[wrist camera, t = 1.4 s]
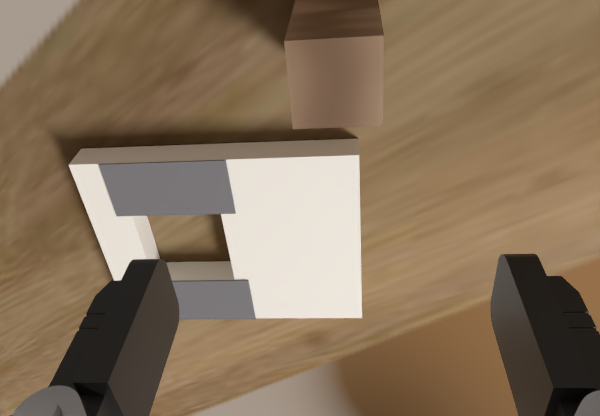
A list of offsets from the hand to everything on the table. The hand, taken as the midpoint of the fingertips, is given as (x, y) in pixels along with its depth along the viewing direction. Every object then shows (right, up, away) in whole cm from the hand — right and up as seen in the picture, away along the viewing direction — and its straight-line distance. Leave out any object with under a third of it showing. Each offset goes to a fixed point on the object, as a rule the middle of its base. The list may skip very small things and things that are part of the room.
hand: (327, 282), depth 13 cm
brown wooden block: (+1, +12, +16) cm, 20 cm away
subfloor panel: (-5, 0, +25) cm, 26 cm away
